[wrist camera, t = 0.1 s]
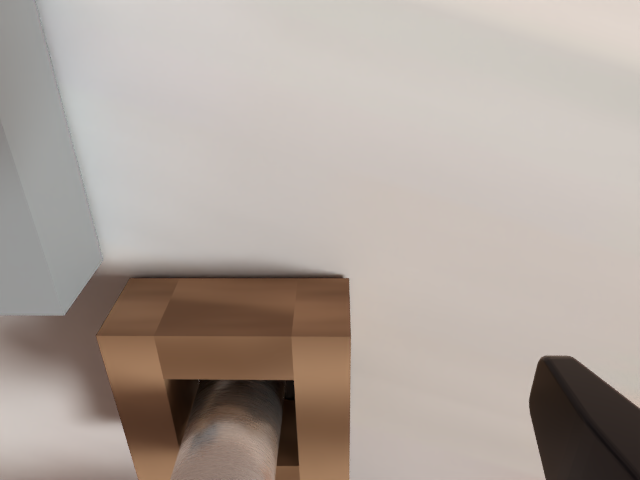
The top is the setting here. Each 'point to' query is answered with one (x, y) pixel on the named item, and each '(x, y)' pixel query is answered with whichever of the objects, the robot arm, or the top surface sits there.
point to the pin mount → (232, 363)
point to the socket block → (38, 178)
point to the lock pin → (232, 431)
